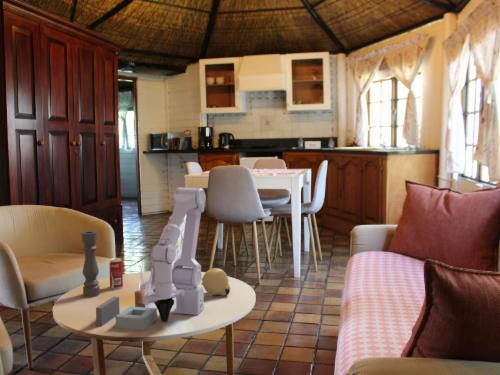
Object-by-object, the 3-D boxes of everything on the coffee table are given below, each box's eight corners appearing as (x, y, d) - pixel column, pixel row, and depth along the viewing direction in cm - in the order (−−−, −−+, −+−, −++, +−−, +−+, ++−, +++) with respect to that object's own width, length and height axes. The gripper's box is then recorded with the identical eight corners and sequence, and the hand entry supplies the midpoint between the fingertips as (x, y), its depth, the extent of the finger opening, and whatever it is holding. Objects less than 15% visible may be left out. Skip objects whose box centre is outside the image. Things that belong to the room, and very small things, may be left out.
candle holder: (95, 297, 190) (93, 234, 188) (80, 296, 191) (78, 233, 189) (102, 292, 197) (100, 231, 194) (87, 292, 198) (85, 230, 195)
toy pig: (216, 307, 190) (237, 289, 189) (195, 285, 188) (216, 267, 188) (216, 298, 200) (236, 281, 199) (196, 277, 198) (216, 260, 197)
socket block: (156, 319, 168) (156, 308, 167) (144, 330, 158) (144, 318, 158) (130, 317, 170) (129, 306, 169) (115, 328, 160) (115, 316, 160)
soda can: (111, 285, 206) (110, 257, 205) (124, 285, 206) (123, 257, 205) (108, 289, 201) (107, 260, 200) (121, 289, 201) (120, 260, 200)
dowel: (146, 309, 177) (146, 290, 176) (142, 313, 173) (142, 293, 173) (137, 309, 177) (137, 290, 177) (133, 312, 174) (133, 293, 173)
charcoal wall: (119, 313, 173) (119, 296, 172) (102, 326, 161) (101, 308, 161) (114, 313, 173) (113, 296, 173) (96, 325, 162) (95, 307, 161)
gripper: (176, 274, 168) (177, 313, 169) (137, 282, 159) (138, 322, 160) (187, 278, 162) (188, 318, 164) (147, 287, 153) (148, 329, 155)
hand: (164, 321), depth 162 cm, fingers closed
